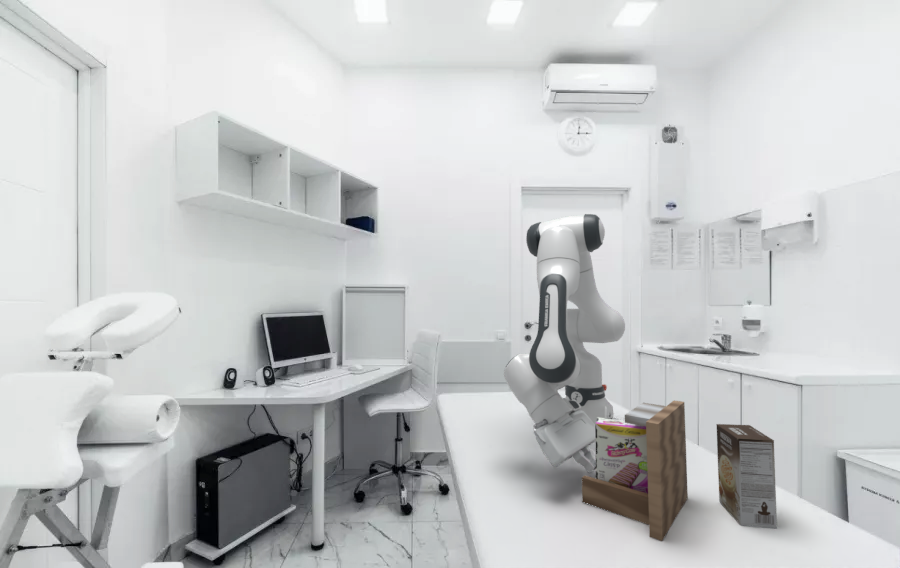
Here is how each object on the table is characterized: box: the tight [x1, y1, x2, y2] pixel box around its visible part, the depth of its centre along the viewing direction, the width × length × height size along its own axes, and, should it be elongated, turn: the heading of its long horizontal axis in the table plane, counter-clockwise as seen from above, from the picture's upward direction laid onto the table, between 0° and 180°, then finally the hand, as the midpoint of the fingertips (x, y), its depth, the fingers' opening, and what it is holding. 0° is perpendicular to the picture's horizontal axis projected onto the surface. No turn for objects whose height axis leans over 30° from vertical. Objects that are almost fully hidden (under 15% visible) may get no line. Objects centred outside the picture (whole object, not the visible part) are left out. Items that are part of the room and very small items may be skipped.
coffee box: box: [716, 423, 778, 529], centre depth 78 cm, size 9×6×16 cm
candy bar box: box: [595, 417, 648, 494], centre depth 82 cm, size 11×5×16 cm, turn 66°
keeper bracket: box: [581, 400, 689, 542], centre depth 82 cm, size 20×16×20 cm
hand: (594, 469), depth 87 cm, fingers closed
